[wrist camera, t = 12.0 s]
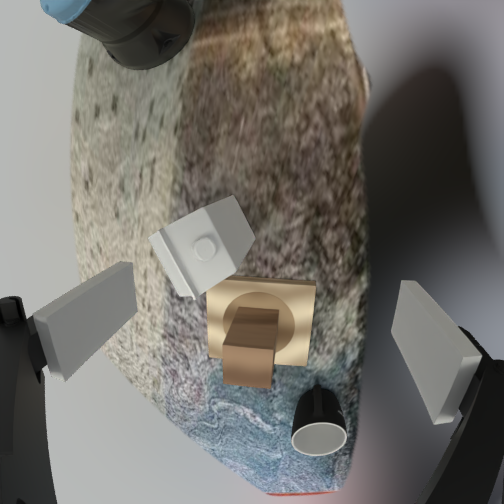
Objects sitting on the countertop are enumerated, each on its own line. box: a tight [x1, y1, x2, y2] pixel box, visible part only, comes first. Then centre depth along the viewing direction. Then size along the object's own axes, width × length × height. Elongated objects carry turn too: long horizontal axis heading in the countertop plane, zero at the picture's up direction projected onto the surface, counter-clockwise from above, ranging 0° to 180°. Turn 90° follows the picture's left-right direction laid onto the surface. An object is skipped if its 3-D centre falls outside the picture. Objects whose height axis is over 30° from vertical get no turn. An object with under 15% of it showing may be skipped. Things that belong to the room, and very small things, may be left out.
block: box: [222, 307, 279, 389], centre depth 41 cm, size 6×6×11 cm
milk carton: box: [148, 195, 256, 300], centre depth 36 cm, size 7×7×19 cm
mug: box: [291, 384, 347, 456], centre depth 46 cm, size 12×9×10 cm
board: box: [206, 275, 316, 366], centre depth 47 cm, size 14×16×2 cm
